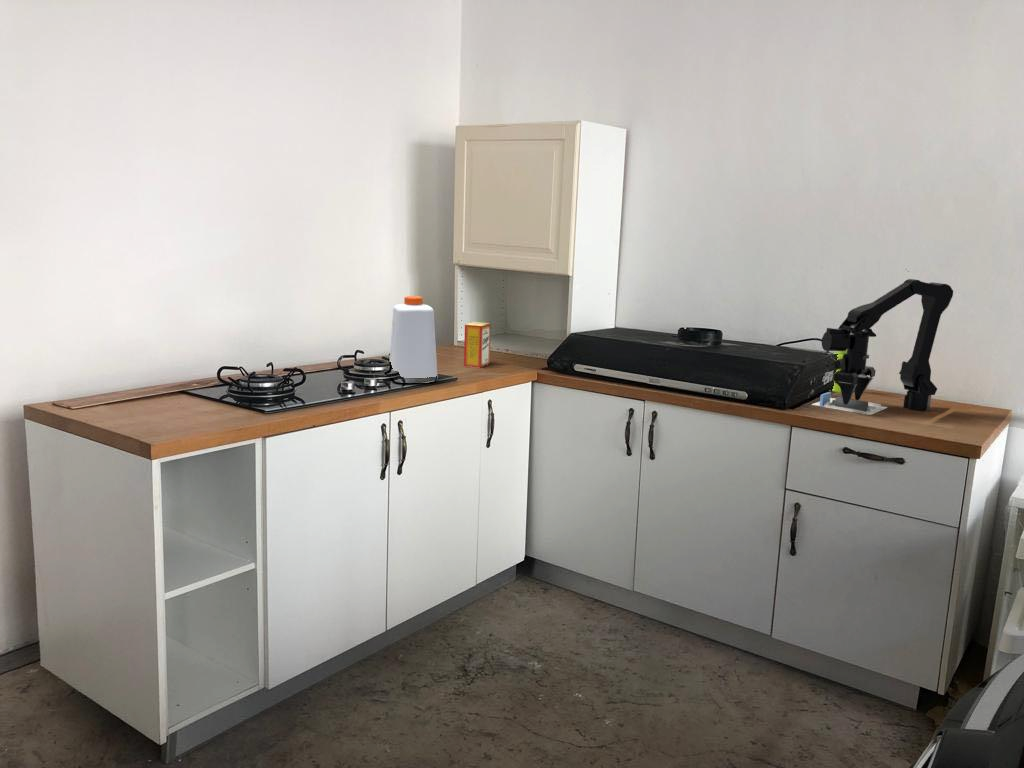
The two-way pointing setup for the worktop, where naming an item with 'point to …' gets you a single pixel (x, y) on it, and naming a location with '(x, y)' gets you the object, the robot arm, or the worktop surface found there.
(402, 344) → the plastic bottle
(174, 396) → the worktop surface
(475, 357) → the baking soda box
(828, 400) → the board
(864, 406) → the dark grey bar
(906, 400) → the robot arm
